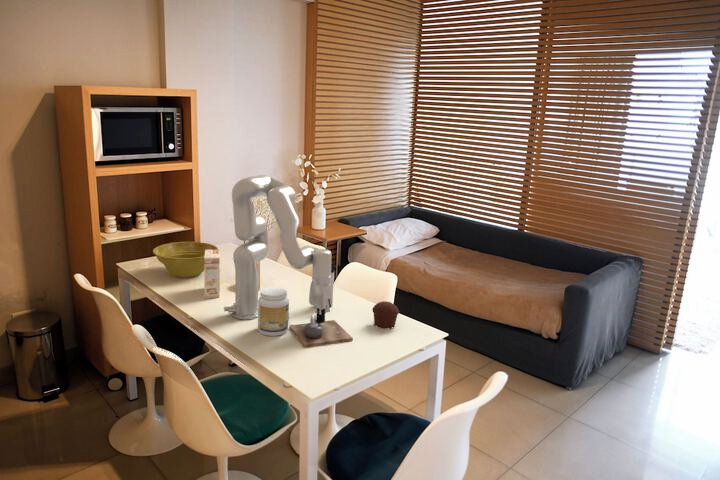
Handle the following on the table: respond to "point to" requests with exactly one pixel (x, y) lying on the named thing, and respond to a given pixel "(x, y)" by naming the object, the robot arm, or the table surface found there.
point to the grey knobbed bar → (313, 328)
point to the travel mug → (332, 279)
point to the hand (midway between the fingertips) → (320, 322)
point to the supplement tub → (273, 311)
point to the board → (330, 334)
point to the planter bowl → (183, 257)
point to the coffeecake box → (212, 274)
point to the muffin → (385, 315)
